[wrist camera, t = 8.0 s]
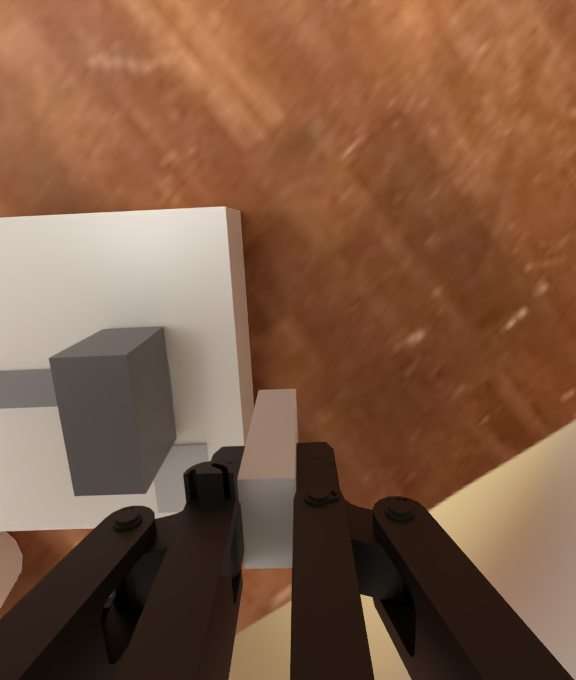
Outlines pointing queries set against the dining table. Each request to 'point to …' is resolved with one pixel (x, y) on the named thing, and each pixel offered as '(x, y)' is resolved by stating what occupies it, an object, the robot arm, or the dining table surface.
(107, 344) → the knob
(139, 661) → the robot arm
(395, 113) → the dining table surface
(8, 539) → the foam cup
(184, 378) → the switch panel
